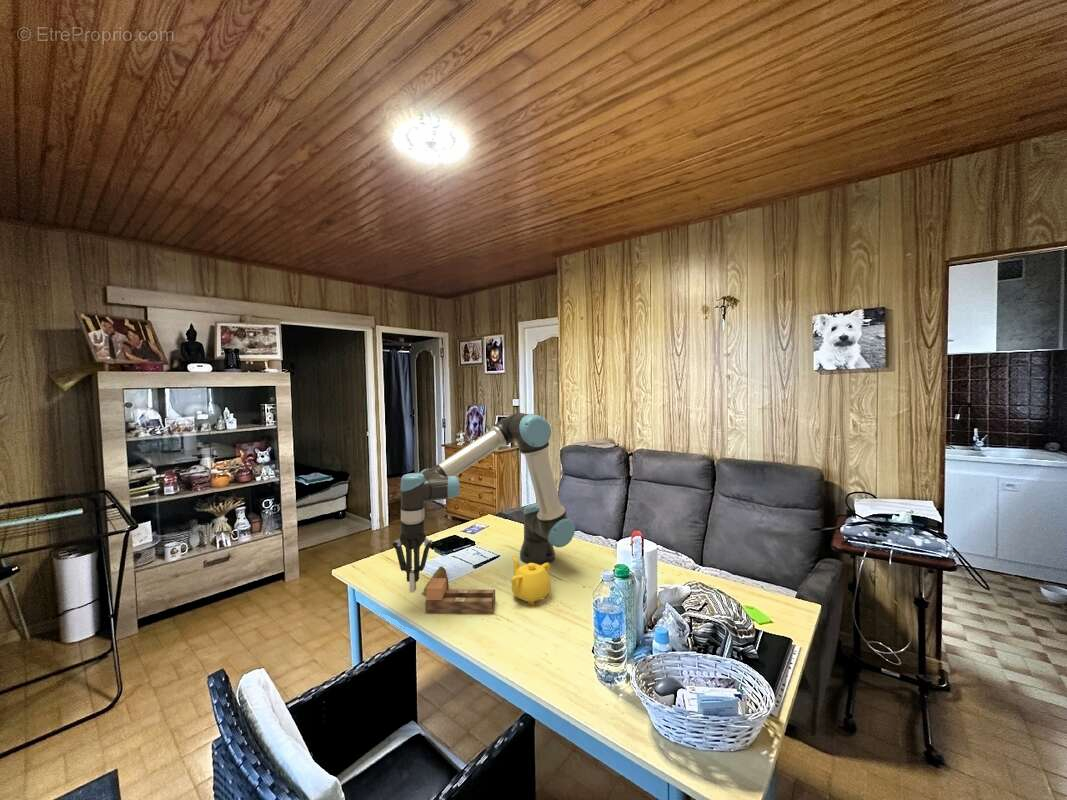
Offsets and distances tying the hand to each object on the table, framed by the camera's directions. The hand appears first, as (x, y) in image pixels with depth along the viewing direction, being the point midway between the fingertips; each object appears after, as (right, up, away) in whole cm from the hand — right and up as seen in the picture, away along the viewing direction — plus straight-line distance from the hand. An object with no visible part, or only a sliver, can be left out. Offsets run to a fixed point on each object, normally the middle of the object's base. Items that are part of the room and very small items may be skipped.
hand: (413, 590), depth 139 cm
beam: (+16, -6, 0) cm, 17 cm away
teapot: (+38, -6, +9) cm, 39 cm away
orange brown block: (+8, -4, 0) cm, 9 cm away
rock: (+6, -6, +6) cm, 10 cm away
